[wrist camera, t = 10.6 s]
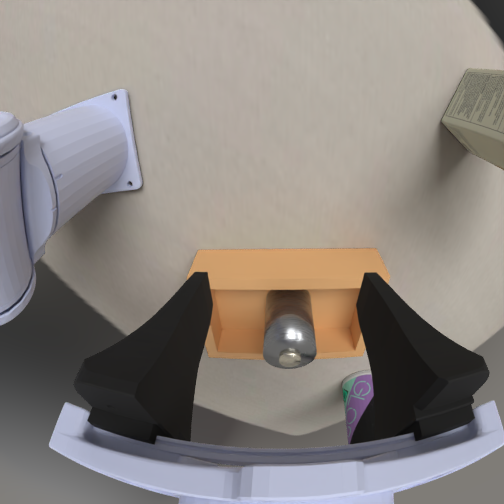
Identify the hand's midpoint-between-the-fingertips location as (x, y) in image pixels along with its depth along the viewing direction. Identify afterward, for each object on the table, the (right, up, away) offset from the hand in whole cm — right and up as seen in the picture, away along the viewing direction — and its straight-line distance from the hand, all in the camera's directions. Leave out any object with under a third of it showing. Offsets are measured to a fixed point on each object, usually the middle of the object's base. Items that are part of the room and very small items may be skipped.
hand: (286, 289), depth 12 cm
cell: (+2, -3, +12) cm, 12 cm away
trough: (+2, -2, +13) cm, 13 cm away
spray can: (+14, -16, +21) cm, 30 cm away
